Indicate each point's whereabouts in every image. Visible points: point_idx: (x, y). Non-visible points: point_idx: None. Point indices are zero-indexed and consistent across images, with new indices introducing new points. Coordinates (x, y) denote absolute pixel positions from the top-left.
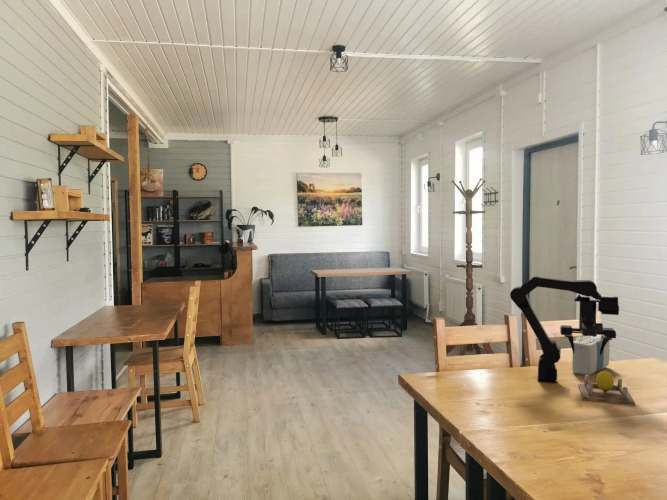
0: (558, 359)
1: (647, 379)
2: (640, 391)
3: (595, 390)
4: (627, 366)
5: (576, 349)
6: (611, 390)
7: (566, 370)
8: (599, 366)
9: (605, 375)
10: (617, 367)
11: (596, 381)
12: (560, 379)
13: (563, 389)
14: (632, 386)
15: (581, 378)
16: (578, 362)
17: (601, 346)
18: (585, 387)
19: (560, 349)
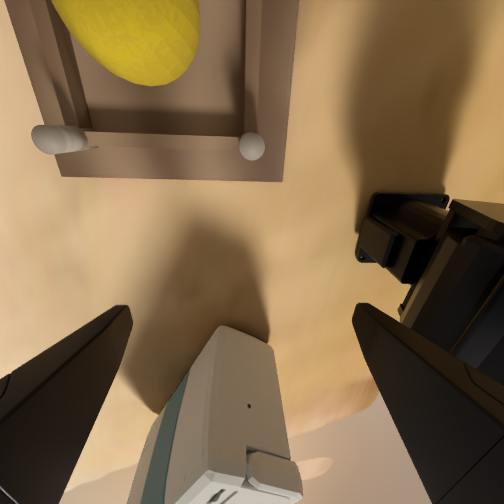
0: (456, 237)
1: (25, 351)
2: (10, 190)
3: (211, 69)
4: (104, 437)
5: (273, 440)
6: (127, 104)
7: (284, 362)
8: (177, 391)
9: None
10: (130, 424)
11: (199, 15)
12: (333, 258)
13: (365, 94)
14: (57, 254)
15: (248, 295)
16: (257, 371)
17: (44, 379)
18: (258, 119)
19: (468, 339)
